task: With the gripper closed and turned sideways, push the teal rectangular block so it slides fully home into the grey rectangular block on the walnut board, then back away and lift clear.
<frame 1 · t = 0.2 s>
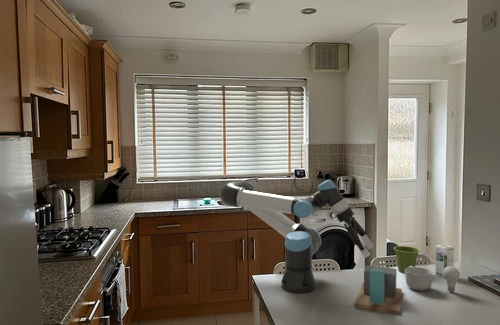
hand: (369, 252, 158), 15 cm above the table, tool tilted 35°, fingers open, 13 cm apart
lightbulb: (451, 292, 151), on the table
plant pot: (406, 271, 177), on the table
syrup box: (444, 276, 170), on the table
base board: (379, 299, 144), on the table
teal rectangular block: (378, 281, 140), point 9 cm above the table, slide at 7.0 cm
grey rectangular block: (380, 296, 147), resting on base board
teacup: (417, 287, 157), on the table
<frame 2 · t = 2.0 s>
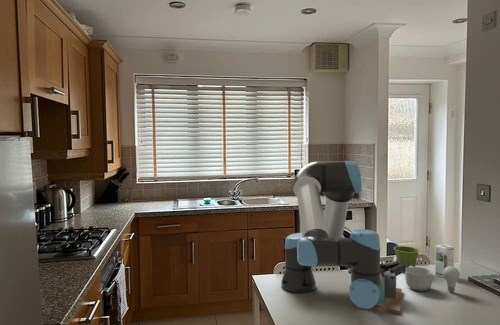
hand: (375, 258, 126), 22 cm above the table, tool horizontal, fingers open, 12 cm apart
nothing on the table moved.
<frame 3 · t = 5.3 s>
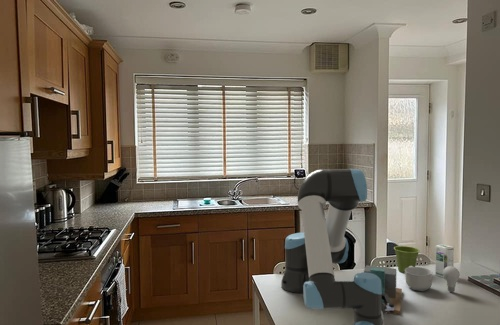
hand: (378, 288, 134), 8 cm above the table, tool horizontal, fingers closed
teal rectangular block: (378, 280, 141), point 9 cm above the table, slide at 6.1 cm, touching gripper
everything else where it was.
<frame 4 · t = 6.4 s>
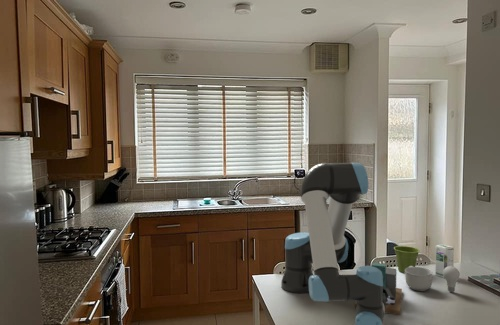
hand: (379, 282, 140), 8 cm above the table, tool horizontal, fingers closed
teal rectangular block: (380, 275, 146), point 9 cm above the table, slide at -0.2 cm, touching gripper
everything else where it was.
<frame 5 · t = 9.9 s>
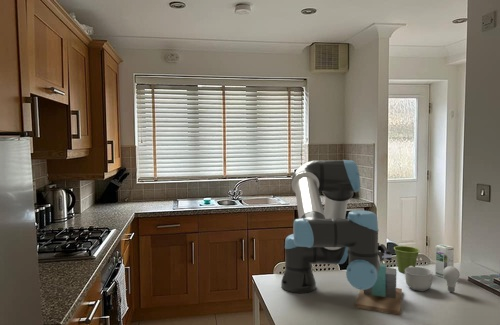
hand: (374, 242, 125), 28 cm above the table, tool horizontal, fingers closed
teal rectangular block: (380, 275, 146), point 9 cm above the table, slide at 0.0 cm
everything else where it was.
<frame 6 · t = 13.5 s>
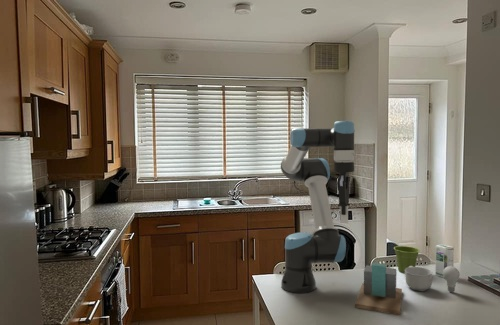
hand: (344, 222, 138), 32 cm above the table, tool pointing down, fingers closed
nothing on the table moved.
at the end: teal rectangular block slide at 0.0 cm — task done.
